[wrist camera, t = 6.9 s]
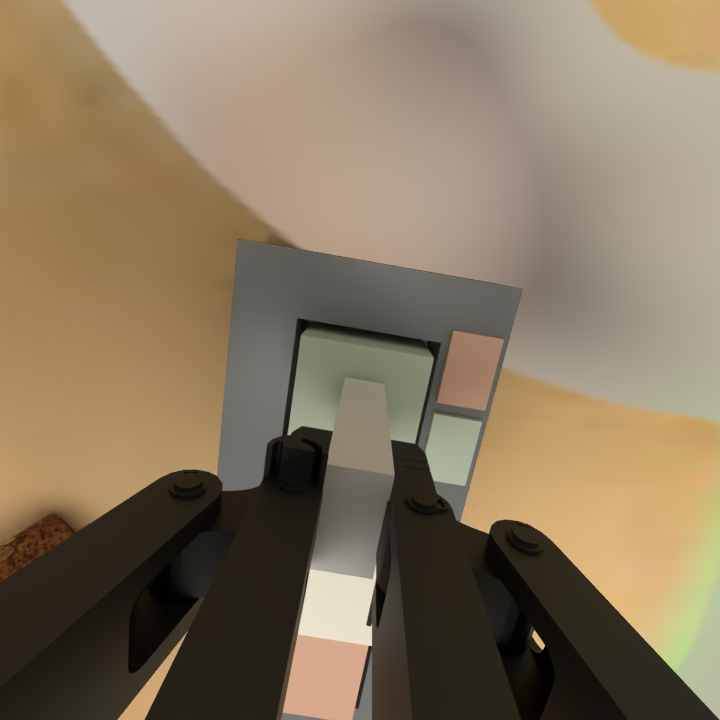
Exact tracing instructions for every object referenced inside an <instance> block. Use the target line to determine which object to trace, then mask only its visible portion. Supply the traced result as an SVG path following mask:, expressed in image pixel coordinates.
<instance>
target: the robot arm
mask: <svg viewBox="0 0 720 720" xmlns="http://www.w3.org/2000/svg"><path fill="white" fill-rule="evenodd" d="M222 490H223V483H222V481H221V480H220V479H219V478H218V476H216V475H214V474H212V473H210V472H206V471H200V470H182V471H178V472H173V473H170V474H168V475H166V476H163V477H161V478H159V479H158V480H156V481H155V482H153V483H152V484H150V485H149V486H147V487H146V488H144V489H142V490H141V491H139V492H138V493H136V494H135V495H133V496H132V497H130V498H129V499H127V500H126V501H124V502H123V503H121V504H119V505H118V506H116V507H115V508H113V509H112V510H110V511H109V512H107V513H106V514H104V515H103V516H101V517H100V518H98V519H96V520H95V521H93V522H92V523H90V524H89V525H87V526H86V527H84V528H83V529H81V530H80V531H78V532H76V533H75V534H73V535H72V536H70V537H69V538H67V539H66V540H64V541H63V542H61V543H60V544H58V545H57V546H55V547H53V548H52V549H50V550H49V551H47V552H46V553H44V554H43V555H41V556H40V557H38V558H37V559H35V560H33V561H32V562H30V563H29V564H27V565H26V566H24V567H23V568H21V569H20V570H18V571H17V572H15V573H14V574H12V575H10V576H9V577H7V578H6V579H4V580H3V581H1V582H0V720H117V719H118V718H119V717H120V716H121V714H122V713H123V712H124V711H125V709H126V708H127V707H128V705H129V704H130V703H131V702H132V700H133V699H134V698H135V697H136V695H137V694H138V693H139V692H140V690H141V689H142V688H143V687H144V685H145V684H146V683H147V682H148V680H149V679H150V678H151V676H152V675H153V674H154V673H155V671H156V670H157V669H158V668H159V666H160V665H161V664H162V663H163V661H164V660H165V659H166V658H167V656H168V655H169V654H170V652H171V651H172V650H173V649H174V647H175V646H176V645H177V644H178V642H179V641H180V640H181V639H182V637H183V636H184V635H185V634H186V632H187V631H188V632H187V634H186V636H185V639H184V641H183V643H182V645H181V647H180V649H179V651H178V653H177V655H176V657H175V659H174V661H173V663H172V665H171V667H170V669H169V671H168V673H167V675H166V677H165V679H164V681H163V683H162V685H161V687H160V690H159V692H158V694H157V696H156V698H155V700H154V702H153V704H152V706H151V708H150V710H149V712H148V714H147V716H146V718H145V720H281V719H282V714H283V708H284V703H285V698H286V693H287V688H288V682H289V677H290V672H291V667H292V662H293V656H294V651H295V646H296V641H297V636H298V630H299V625H300V620H301V615H302V610H303V604H304V599H305V594H306V589H307V583H308V577H309V571H310V569H313V570H319V571H325V572H331V573H337V574H343V575H350V576H356V577H362V578H368V579H373V575H374V570H375V566H376V581H375V586H374V591H373V595H372V600H371V604H370V609H369V614H368V618H367V623H366V626H371V624H372V720H719V719H718V718H717V717H716V716H715V715H714V714H713V712H712V711H711V710H710V709H709V708H708V707H707V706H706V705H705V704H704V703H703V702H702V701H701V700H700V699H699V697H698V696H697V695H696V694H695V693H694V692H693V691H692V690H691V689H690V688H689V687H688V686H687V685H686V684H685V683H684V681H683V680H682V679H681V678H680V677H679V676H678V675H677V674H676V673H675V672H674V671H673V670H672V669H671V668H670V667H669V665H668V664H667V663H666V662H665V661H664V660H663V659H662V658H661V657H660V656H659V655H658V654H657V653H656V652H655V650H654V649H653V648H652V647H651V646H650V645H649V644H648V643H647V642H646V641H645V640H644V639H643V638H642V637H641V636H640V634H639V633H638V632H637V631H636V630H635V629H634V628H633V627H632V626H631V625H630V624H629V623H628V622H627V621H626V620H625V618H624V617H623V616H622V615H621V614H620V613H619V612H618V611H617V610H616V609H615V608H614V607H613V606H612V605H611V604H610V602H609V601H608V600H607V599H606V598H605V597H604V596H603V595H602V594H601V593H600V592H599V591H598V590H597V589H596V588H595V586H594V585H593V584H592V583H591V582H590V581H589V580H588V579H587V578H586V577H585V576H584V575H583V574H582V573H581V571H580V570H579V569H578V568H577V567H576V566H575V565H574V564H573V563H572V562H571V561H570V560H569V559H568V558H567V557H566V555H565V554H564V553H563V552H562V551H561V550H560V549H559V548H558V547H557V546H556V545H555V544H554V543H553V542H552V541H551V540H550V539H549V538H548V537H547V536H545V535H544V534H543V533H542V532H540V531H538V530H537V529H535V528H533V527H532V526H530V525H528V524H526V523H525V524H524V523H523V522H519V521H512V520H500V521H496V522H495V523H494V524H493V525H492V526H491V529H490V533H489V534H487V533H485V532H482V531H479V530H477V529H474V528H471V527H469V526H467V525H464V524H462V523H460V522H459V521H457V520H456V518H455V515H454V512H453V509H452V507H451V506H450V504H449V503H448V502H447V501H446V500H445V499H444V498H443V497H441V496H440V495H438V494H437V492H436V488H435V485H434V481H433V478H432V474H431V472H430V467H429V464H428V460H427V457H426V453H425V452H424V451H423V450H422V449H421V448H420V447H419V446H418V445H417V444H414V443H408V442H402V441H396V440H391V437H390V428H389V419H388V410H387V401H386V392H385V384H383V383H377V382H371V381H365V380H359V379H354V378H348V377H345V380H344V385H343V389H342V394H341V398H340V403H339V407H338V412H337V416H336V421H335V425H334V430H333V431H329V430H323V429H317V428H312V427H306V426H301V427H299V428H298V429H296V430H294V431H293V432H292V433H291V435H286V436H280V437H277V438H274V439H272V440H271V441H270V442H269V443H268V444H267V449H266V457H265V466H264V474H263V479H262V481H261V483H260V485H259V486H258V487H255V488H251V489H246V490H234V491H222ZM534 629H535V631H536V632H537V634H538V635H539V637H540V638H541V640H542V641H543V643H544V644H545V647H544V649H543V650H542V649H541V648H540V647H539V646H538V645H537V643H536V642H535V640H534V639H533V637H532V635H533V632H534Z"/></svg>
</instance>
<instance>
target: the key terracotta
mask: <svg viewBox="0 0 720 720" xmlns="http://www.w3.org/2000/svg"><path fill="white" fill-rule="evenodd" d="M367 651H368V645H362V644H355V643H349V642H342V641H336V640H330V639H323V638H317V637H310V636H304V635H298V636H297V641H296V646H295V651H294V656H293V662H292V667H291V672H290V677H289V682H288V688H287V693H286V698H285V703H284V708H283V713H289V714H295V715H302V716H308V717H315V718H321V719H328V720H352V718H353V714H354V709H355V705H356V700H357V696H358V691H359V687H360V682H361V678H362V673H363V669H364V664H365V660H366V655H367Z"/></svg>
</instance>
